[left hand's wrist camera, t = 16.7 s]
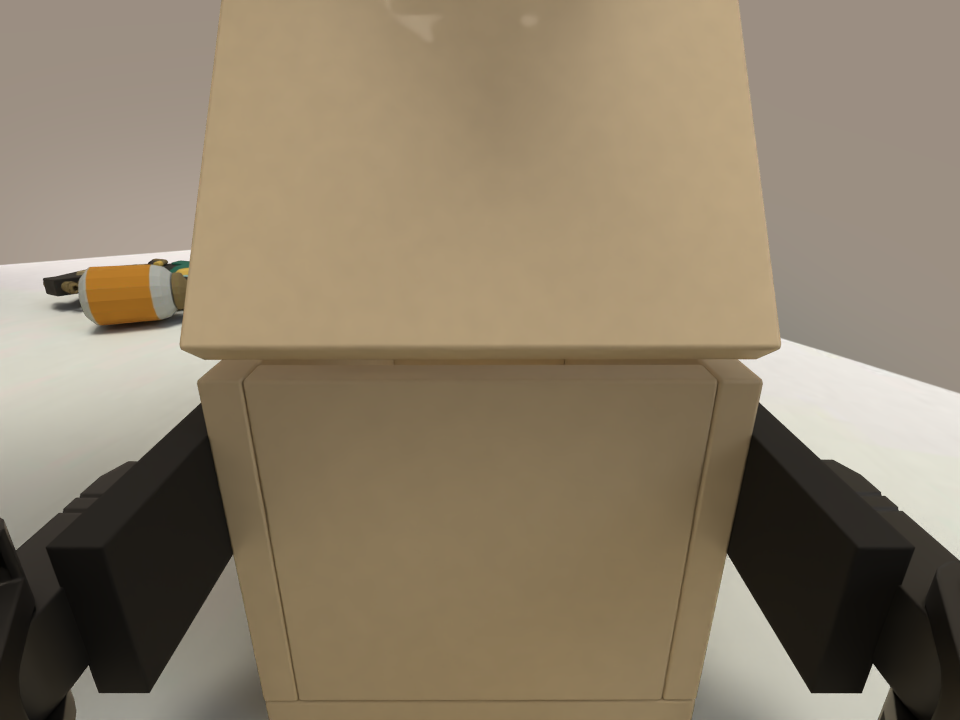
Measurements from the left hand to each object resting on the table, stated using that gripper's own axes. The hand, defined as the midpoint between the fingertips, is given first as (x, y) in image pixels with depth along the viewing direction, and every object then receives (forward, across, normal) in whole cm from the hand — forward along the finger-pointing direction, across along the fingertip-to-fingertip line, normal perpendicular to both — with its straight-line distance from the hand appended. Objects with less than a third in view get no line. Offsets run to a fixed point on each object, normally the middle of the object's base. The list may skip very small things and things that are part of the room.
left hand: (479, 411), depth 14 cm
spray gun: (+32, -27, -6) cm, 42 cm away
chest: (+5, 0, -6) cm, 8 cm away
